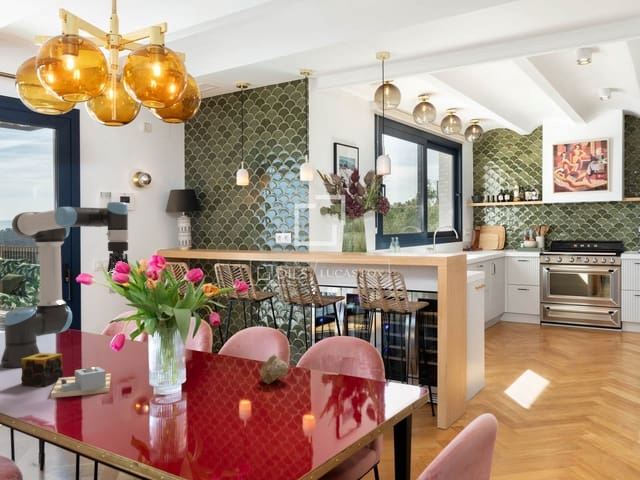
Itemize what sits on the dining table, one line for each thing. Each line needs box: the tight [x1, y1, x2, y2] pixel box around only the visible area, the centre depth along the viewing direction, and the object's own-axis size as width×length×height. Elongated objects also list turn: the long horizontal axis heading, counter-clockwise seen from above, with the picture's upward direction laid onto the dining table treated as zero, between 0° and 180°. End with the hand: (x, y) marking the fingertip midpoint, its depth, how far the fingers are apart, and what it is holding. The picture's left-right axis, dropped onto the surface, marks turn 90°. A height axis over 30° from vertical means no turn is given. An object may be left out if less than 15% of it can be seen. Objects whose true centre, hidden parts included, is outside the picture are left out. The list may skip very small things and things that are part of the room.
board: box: [50, 373, 112, 399], centre depth 193 cm, size 20×18×2 cm
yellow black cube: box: [20, 352, 64, 388], centre depth 199 cm, size 10×10×10 cm
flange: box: [61, 366, 107, 392], centre depth 186 cm, size 13×8×6 cm, turn 129°
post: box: [85, 366, 96, 373], centre depth 188 cm, size 3×3×6 cm
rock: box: [259, 353, 291, 385], centre depth 197 cm, size 12×10×10 cm
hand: (118, 294), depth 213 cm, fingers open, 13 cm apart
